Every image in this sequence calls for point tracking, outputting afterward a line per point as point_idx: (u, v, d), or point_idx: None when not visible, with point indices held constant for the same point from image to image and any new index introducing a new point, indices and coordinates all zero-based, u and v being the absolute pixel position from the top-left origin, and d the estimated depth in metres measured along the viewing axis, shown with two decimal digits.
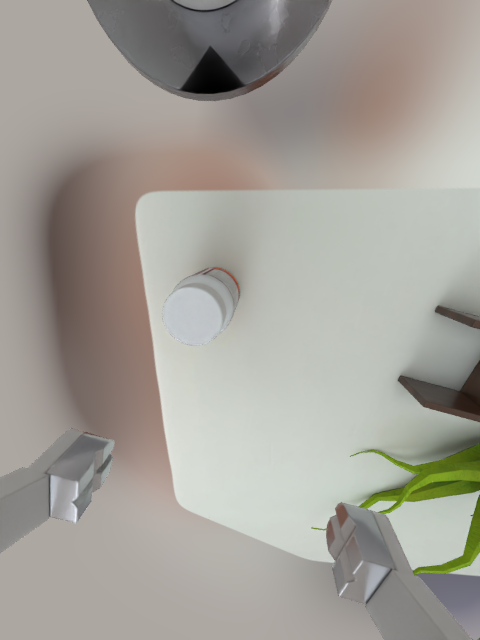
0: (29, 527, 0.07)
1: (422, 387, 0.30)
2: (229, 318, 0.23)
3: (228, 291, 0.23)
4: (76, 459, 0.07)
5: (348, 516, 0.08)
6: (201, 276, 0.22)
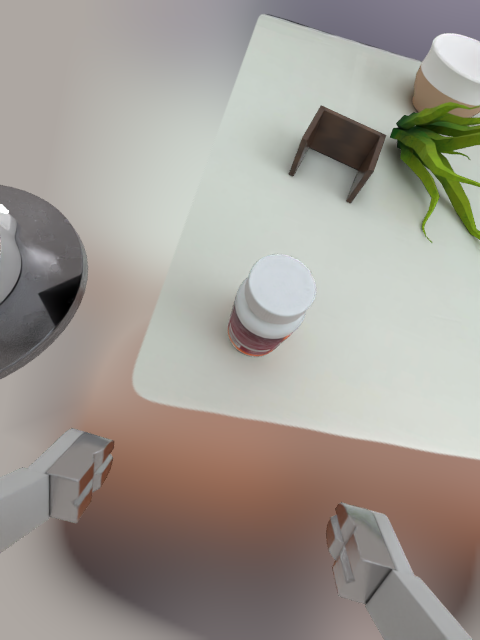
0: (29, 527, 0.07)
1: (356, 183, 0.36)
2: None
3: None
4: (76, 459, 0.07)
5: (348, 516, 0.08)
6: (238, 291, 0.20)
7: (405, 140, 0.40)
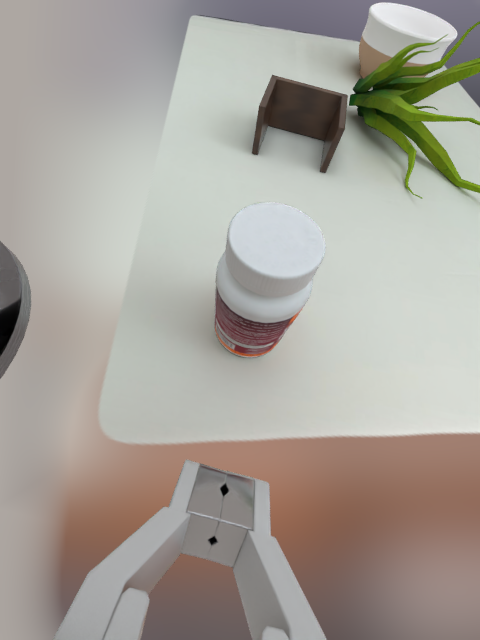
0: (168, 565, 0.07)
1: (327, 149, 0.33)
2: None
3: None
4: (207, 495, 0.07)
5: (227, 483, 0.08)
6: (217, 267, 0.15)
7: (367, 103, 0.37)
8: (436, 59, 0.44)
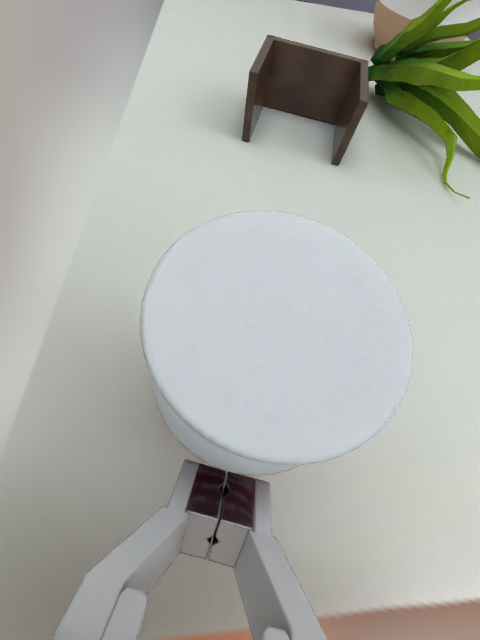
0: (167, 565, 0.07)
1: (341, 134, 0.25)
2: None
3: None
4: (206, 495, 0.07)
5: (227, 483, 0.08)
6: None
7: (390, 75, 0.29)
8: None
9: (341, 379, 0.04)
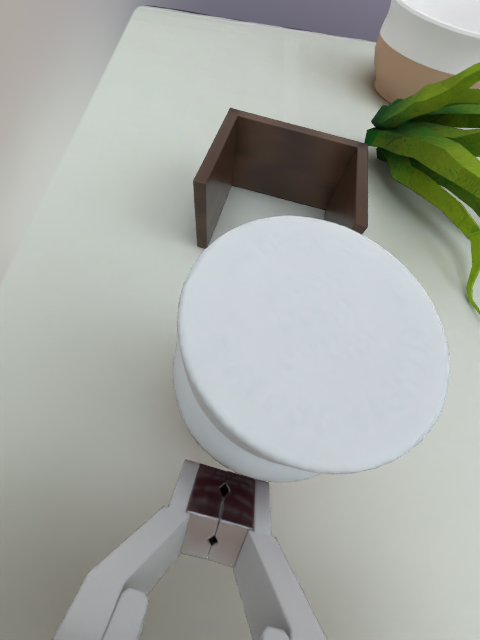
0: (168, 566, 0.07)
1: None
2: None
3: None
4: (206, 495, 0.07)
5: (227, 483, 0.08)
6: None
7: (396, 147, 0.23)
8: None
9: (369, 394, 0.04)
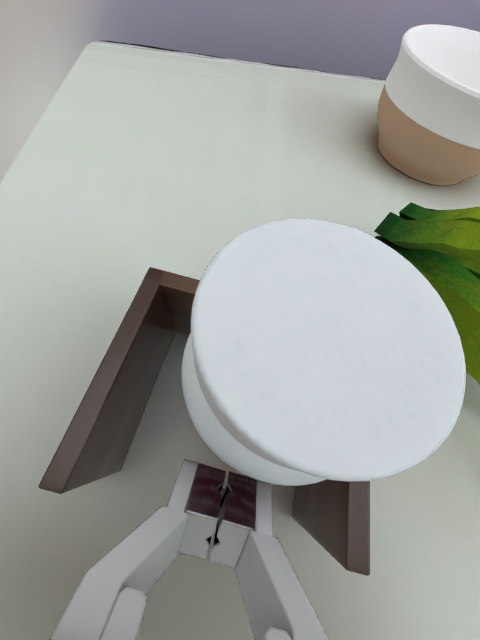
0: (167, 564, 0.07)
1: (309, 485, 0.11)
2: None
3: None
4: (205, 494, 0.07)
5: (228, 483, 0.08)
6: (189, 336, 0.07)
7: None
8: None
9: (383, 402, 0.04)
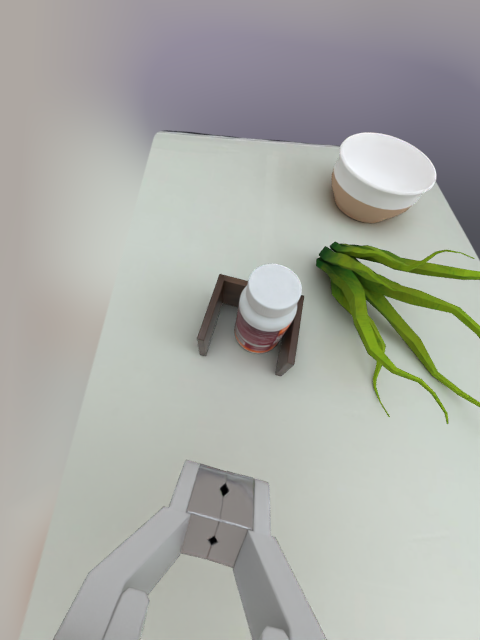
0: (168, 566, 0.07)
1: (281, 357, 0.29)
2: None
3: None
4: (207, 495, 0.07)
5: (227, 483, 0.08)
6: (241, 294, 0.26)
7: (332, 278, 0.34)
8: (414, 202, 0.40)
9: (283, 298, 0.22)
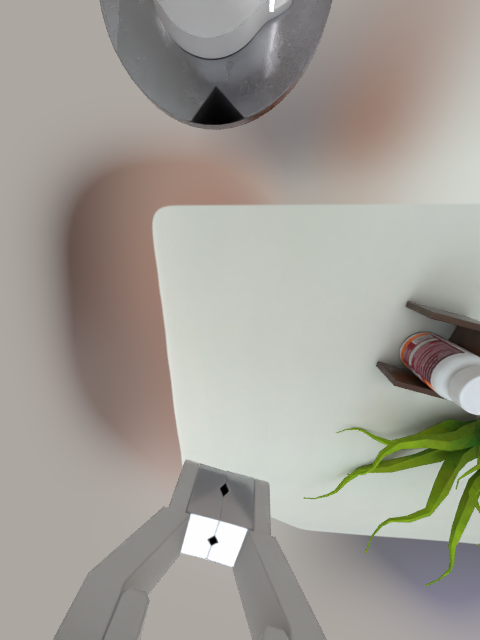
0: (168, 565, 0.07)
1: (395, 370, 0.36)
2: None
3: None
4: (207, 495, 0.07)
5: (227, 483, 0.08)
6: (477, 357, 0.28)
7: (469, 426, 0.36)
8: None
9: (469, 399, 0.26)
